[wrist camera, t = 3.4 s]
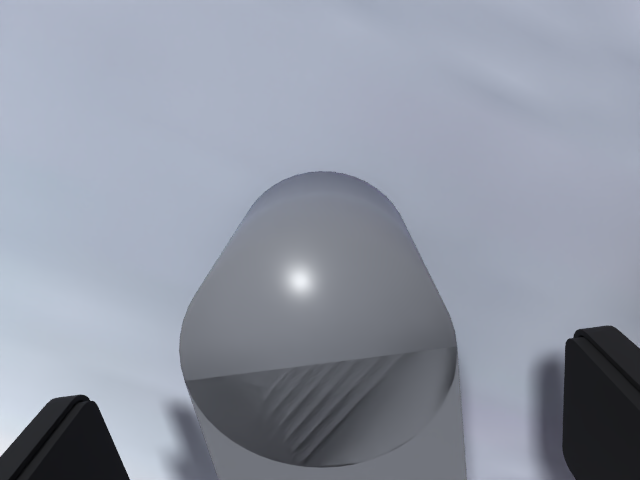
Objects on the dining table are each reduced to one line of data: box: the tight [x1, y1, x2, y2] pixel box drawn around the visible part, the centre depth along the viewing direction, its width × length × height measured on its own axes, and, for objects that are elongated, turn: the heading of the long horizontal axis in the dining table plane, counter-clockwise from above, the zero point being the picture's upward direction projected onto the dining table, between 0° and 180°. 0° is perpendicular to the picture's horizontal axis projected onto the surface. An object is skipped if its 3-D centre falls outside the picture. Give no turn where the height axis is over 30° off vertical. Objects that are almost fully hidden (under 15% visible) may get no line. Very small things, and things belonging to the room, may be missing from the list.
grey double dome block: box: [179, 171, 467, 480], centre depth 9 cm, size 4×11×4 cm, turn 10°
